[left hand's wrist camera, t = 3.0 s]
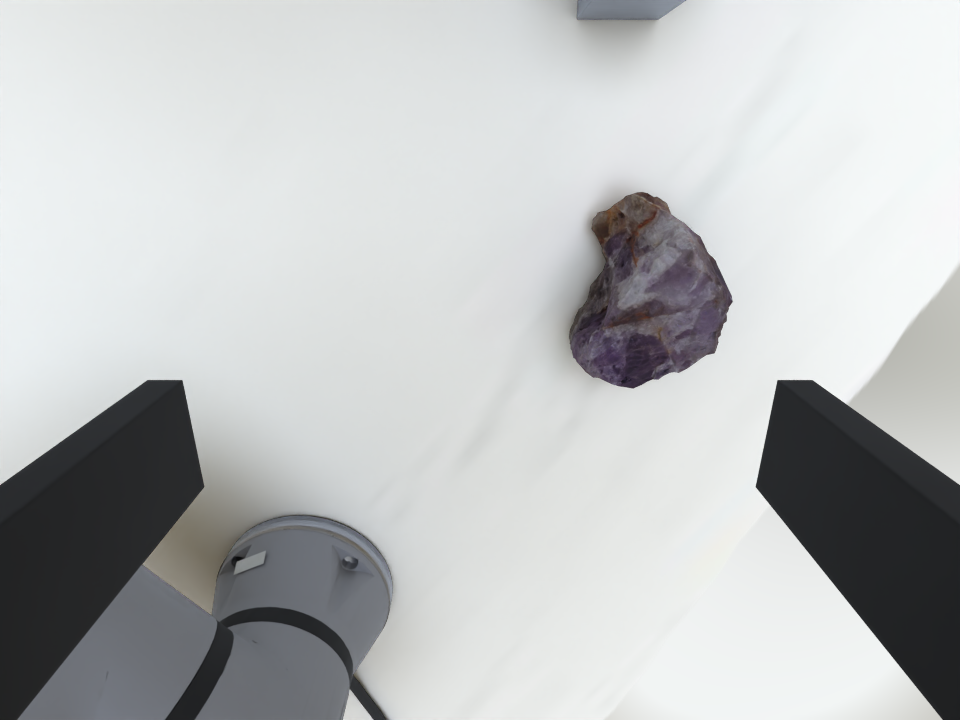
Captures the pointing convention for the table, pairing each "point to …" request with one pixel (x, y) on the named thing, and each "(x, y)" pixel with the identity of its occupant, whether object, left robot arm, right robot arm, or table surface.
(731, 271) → the table surface
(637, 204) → the rock
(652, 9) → the bar
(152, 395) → the left robot arm
